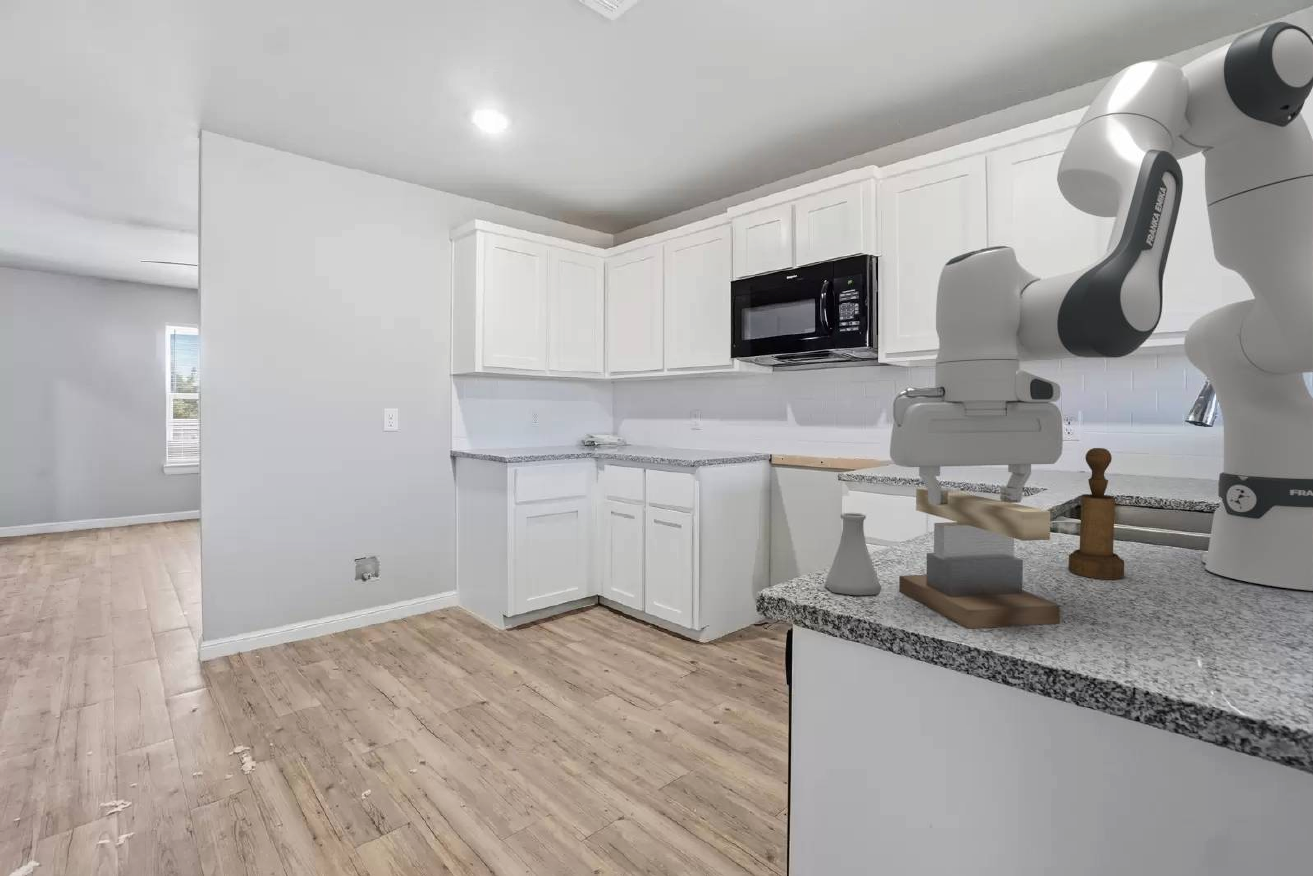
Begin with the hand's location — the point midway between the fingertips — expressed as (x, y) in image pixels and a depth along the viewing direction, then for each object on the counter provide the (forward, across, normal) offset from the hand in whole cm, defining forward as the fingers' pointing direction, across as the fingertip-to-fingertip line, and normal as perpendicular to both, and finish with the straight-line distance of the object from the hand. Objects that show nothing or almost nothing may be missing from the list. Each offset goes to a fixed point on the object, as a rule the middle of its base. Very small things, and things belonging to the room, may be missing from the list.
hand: (974, 503), depth 73 cm
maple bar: (+2, 0, 0) cm, 2 cm away
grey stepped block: (+10, 0, 0) cm, 10 cm away
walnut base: (+12, 0, 0) cm, 12 cm away
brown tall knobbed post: (+13, +26, +10) cm, 31 cm away
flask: (+13, -11, +9) cm, 19 cm away
